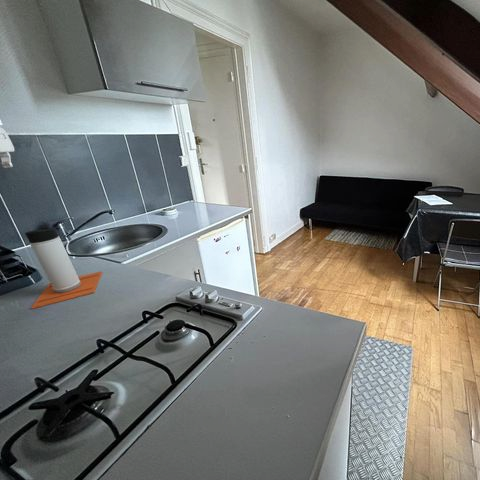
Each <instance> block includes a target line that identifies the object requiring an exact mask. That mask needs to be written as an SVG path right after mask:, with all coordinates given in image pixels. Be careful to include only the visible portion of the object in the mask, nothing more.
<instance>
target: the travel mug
mask: <svg viewBox="0 0 480 480" xmlns="http://www.w3.org/2000/svg"><path fill="white" fill-rule="evenodd" d="M24 235H25V236H26V238H27V240H28V242H29V244H30V246H31V248H32V250H33V253H34V254H35V257H36V258H37V260H38V262H39V264H40V266H41V268H42V270H43V272H44V274H45V276H46V278H47V280H48V281H49V284H51V286H52V287H53V289H54V291H55V293H65V292H69V291H71V290H74V289H76V288H78V287H79V286H80V285H81V282H80V280H79V278H78V277H79V275H78V274H77V271H76V269H75V267H74V265H73V263H72V261H71V258H70V256H69V253H68V251H67V250H66V248H65V245H64V243H63V241H62V239H61V238H60V235H59V234H58V230H57V229H56V227H50V228H47V229H46V228H41V229H35V230H29V231H26V232H24Z"/></svg>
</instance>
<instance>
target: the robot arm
mask: <svg viewBox="0 0 480 480" xmlns="http://www.w3.org/2000/svg"><path fill="white" fill-rule="evenodd" d="M3 126H4V125H3V121H2V120H1V118H0V161H1V162H0V165H1V166H2V168H4V169H9V168H13V167H14V165H13V163H12V160H11V159H12V158H11V153H14V152H15V146H14V144H13V142H12V140H11V139H10V136H9V134H8V133H7V131H6V129H4V128H3Z"/></svg>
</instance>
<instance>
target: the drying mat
mask: <svg viewBox="0 0 480 480" xmlns="http://www.w3.org/2000/svg"><path fill="white" fill-rule="evenodd" d="M102 274H103V270H101V271H96V272H92V273H88V274H84V275H78V278H79V280H80V282H81V285H80V286H79V287H78V288H76V289H74V290H71V291H69V292H65V293H55V291H54V289H53V287H52V286H51V284H50V283H48V285H46V287H45V288H44V289H43V291H42V292H41V293H40V295H39V296H38V297H37V299H36V300H35V302H34V303H33V304H32V306H31V307H30V310H34V309H38V308H42V307H45V306H50V305H54V304H57V303H61V302H64V301H68V300H72V299H76V298H79V297H84V296H86V295H91V294H94V293H95V291H96V290H97V287H98V283H99V282H100V279H101V276H102Z"/></svg>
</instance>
